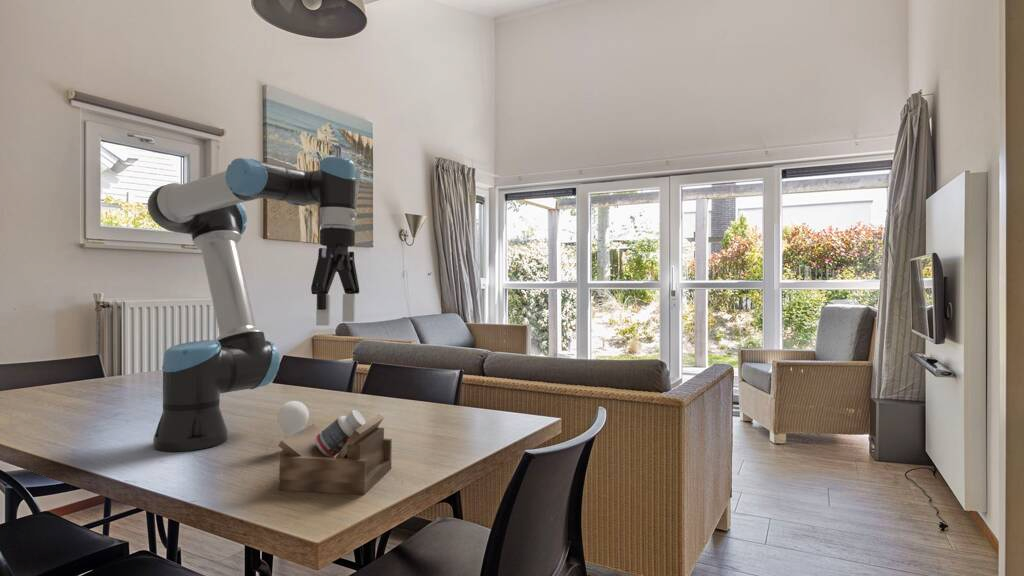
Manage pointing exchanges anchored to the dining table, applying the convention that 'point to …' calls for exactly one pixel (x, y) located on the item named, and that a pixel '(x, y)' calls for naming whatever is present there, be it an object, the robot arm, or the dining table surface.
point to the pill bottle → (338, 433)
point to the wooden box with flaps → (335, 461)
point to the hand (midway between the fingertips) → (336, 323)
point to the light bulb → (292, 417)
